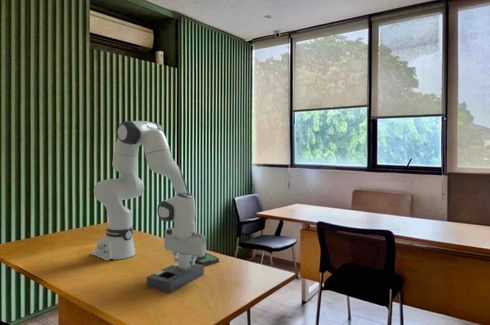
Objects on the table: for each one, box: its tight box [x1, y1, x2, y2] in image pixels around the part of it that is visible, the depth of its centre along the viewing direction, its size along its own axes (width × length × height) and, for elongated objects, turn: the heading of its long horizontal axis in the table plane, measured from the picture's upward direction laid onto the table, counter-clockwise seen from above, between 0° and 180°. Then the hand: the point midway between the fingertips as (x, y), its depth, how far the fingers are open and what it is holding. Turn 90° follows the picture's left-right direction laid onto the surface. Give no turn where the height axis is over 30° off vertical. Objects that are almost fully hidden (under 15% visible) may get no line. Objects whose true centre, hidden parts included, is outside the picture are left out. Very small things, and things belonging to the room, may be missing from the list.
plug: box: [177, 252, 192, 270], centre depth 148 cm, size 4×5×10 cm
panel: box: [146, 262, 205, 294], centre depth 143 cm, size 12×22×4 cm, turn 152°
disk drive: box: [192, 252, 220, 267], centre depth 167 cm, size 10×3×15 cm
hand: (184, 263), depth 148 cm, fingers open, 7 cm apart
